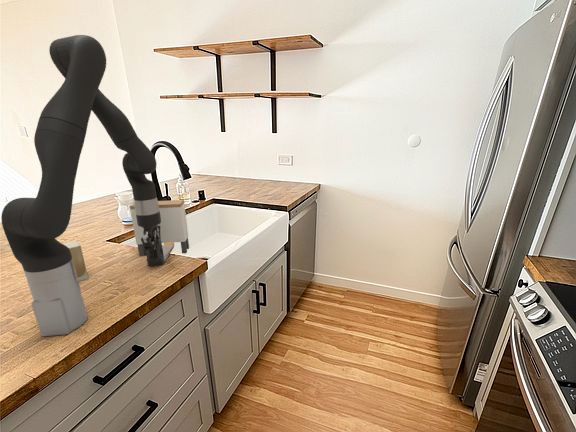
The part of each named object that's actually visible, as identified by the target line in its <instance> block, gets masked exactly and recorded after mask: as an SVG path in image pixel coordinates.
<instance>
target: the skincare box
mask: <svg viewBox="0 0 576 432" xmlns="http://www.w3.org/2000/svg"><path fill="white" fill-rule="evenodd" d="M62 244H63V245H65V246H67V247H68V248H69V249H70V252H71V255H72V259H73V263H74V267H75V271H76V274H77V278H78V282H79V283H80V282H82V281H85V280H88V279H89V274H88V271H87V267H86V262H85V259H84V255H83V250H82V246H81V244H80V243H79V241H78V240H77V239H76V240H72V241H69V242H63V243H62Z"/></svg>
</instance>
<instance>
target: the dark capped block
mask: <svg viewBox="0 0 576 432" xmlns="http://www.w3.org/2000/svg"><path fill="white" fill-rule="evenodd" d="M151 241H154V240H151ZM155 245H156V253H157V259H150V254H149V250H145V251H146V252H145V256H146V262H147V267H155V266H163V265H164V263H165V262H166V260H168V257H169V256H170V254H171V252H172V251H173V250H174V248H175V244H174V245H164V244H163V243H162V242H161V237H156V243H155Z"/></svg>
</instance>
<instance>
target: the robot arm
mask: <svg viewBox="0 0 576 432" xmlns="http://www.w3.org/2000/svg"><path fill="white" fill-rule="evenodd" d="M48 49H49V52H48V53H49V55H50V60H51V61H52V63H53V64H54V67H55V68H56V69H57V71H58V72H59V73H60V74H61V76H63V78H64V81H63V83H62V84H61V86H60V87H59V88H58V90H57V91H56V92H55V93H54V94H53V96H52V97H51V98H50V99H49V101H48V102H47V103H46V105H45V106H43V109H42V110H41V112H40V115H39V117H38V121H37V125H36V129H35V133H34V137H33V142H34V148H35V152H36V155H37V158H38V160H39V163H40V168H41V178H40V179H41V180H40V184H39V188H38V192H37V194H36V197H18V198H15V199H12V200H11V201H9V202H8V203H6V204H5V206H4V207H3V209H2V212H1V226H2V229H3V231H4V235H5V237H6V240H7V242H8V245H9V247H10V249H11V251H12V254H13V256H14V258H15V259H16V260H17V261H18V262H19V263H20V265H21V266H22V269H23V272H24V275H25V278H26V282H27V284H28V287H29V291H30V294H31V296H32V300H33V301H32V302H31V304H30V305H31V308H32V311H33V313H34V317H35V320H36V324H37V326H38V328H39V332H40V334H41V335H40V336H42V337H50V336H52V337H53V336H60V335H61V336H62V335H69V334H70V333H71V332H73V331H74V330H76V329H78V328H79V327H81V326H82V325H83V324H85V323H86V322H87V320H88V317H89V316H88V313H87V309H86V306H85V302H84V297H83V293H82V290H81V286H80V281H79V282H78V278H77V274H76V271H75V267H74V263H73V259H72V255H71V252H70V249H69V248H68V247H67V246H65V245H63V243H61V242H60V241H59V240H57V238H59V237H60V236H62V235H63V234H64V233H65V231H67V228H68V226H69V225H70V221H71V216H72V210H73V209H72V207H73V199H74V191H75V183H76V178H77V172H78V167H79V162H80V158H81V154H82V152H83V147H84V144H85V143H84V142H85V140H86V139H85V138H86V137H87V136H86V135H87V131H88V125H89V121H90V117H91V114H92V112H93V114H94V115H95V116H96V118H97V119H98V121H99V122H100V123H101V125H102V127H103V128H104V129H105V131H106V133H107V135H108V136H109V138H110V139H111V141H112V143H113V144H114V146H115V147H116V148H117V149H118V150H120V151H124V152H125V153H124V155H123V157H122V161H121V162H122V163H121V164H122V169H123V173H125V176H126V179H127V180H128V183H129V185H130V187H131V188H132V189H131V191H132V197H133V203H134V207H135V213H136V218H137V224H138V226H140V227H143V228H144V231H143V235H144V238H141V241H142V243H143V246H144V248H145V250H149V254H150V259H157V253H156V245H155V243H156V236H157V237H160V226H157V225H159V224H160V223H161V216H160V210H159V204H158V201H159V200H158V196H157V191H156V185H155V183H154V182H153V181H152V180H150V179H149V178H147V177H146V175H149V174H150V175H151V174H153V173H154V172H155V171H156V169H157V159H156V157H155V155H154V153H153V152H152V151H151V149H149V147H147V145H146V144H145V142H143V140H142V139H140V138H139V136H138V134H137V132H136V130H135V128H134V127H133V125H132V123H131V122H130V119H129V118H128V117H127V116H126V115H125V113H124V112H123V111H122V110H121V109H120V107H118V106H117V105H116V104H115V103H113V102H112V101H111V100H110V99H109V98H108V97H107V96H106V95H105V94H104V92H102V91H101V90H100V85H101V83H102V80H103V77H104V76H105V72H106V69H107V56H106V52H105V49H104V47H103V46H102V44H101V43H100V42H99V41H98V40H97V39H96V38H95V37H93V36H91V35H87V34H75V35H71V36H66V37H61V38H57V39H54V40H52V42H51V43H50V45H49V48H48ZM151 240H154V241H151Z"/></svg>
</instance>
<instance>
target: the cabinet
mask: <svg viewBox="0 0 576 432" xmlns="http://www.w3.org/2000/svg"><path fill="white" fill-rule="evenodd" d="M158 204H159V210H160V216H161V223H160V224H159V225H157V226H160V237H161V242H162V244H164V243H172V242H174V243H180V248H181V249H180V250H181V254H187V253H188V250H189V249H190V243H189V229H188V223H187V221H188V220H187V215H186V214H187V213H186V208H185V207H186V206H185V200H184V199H178V200H177V199H176V200H171V199H170V200H158ZM129 211H130V216H131V221H132V222H131V223H132V227H133V232H134V238H135V243H136V245H137V250H138V255H139V257H145V256H146V251H145V248H144V246H143V243H142V241H141V238H144V235H143V231H144V228H143V227H140V226H138V224H137V218H136V213H135V207H134V202H133V203H132V204H131V205H129ZM156 237H157V236H156Z"/></svg>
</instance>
